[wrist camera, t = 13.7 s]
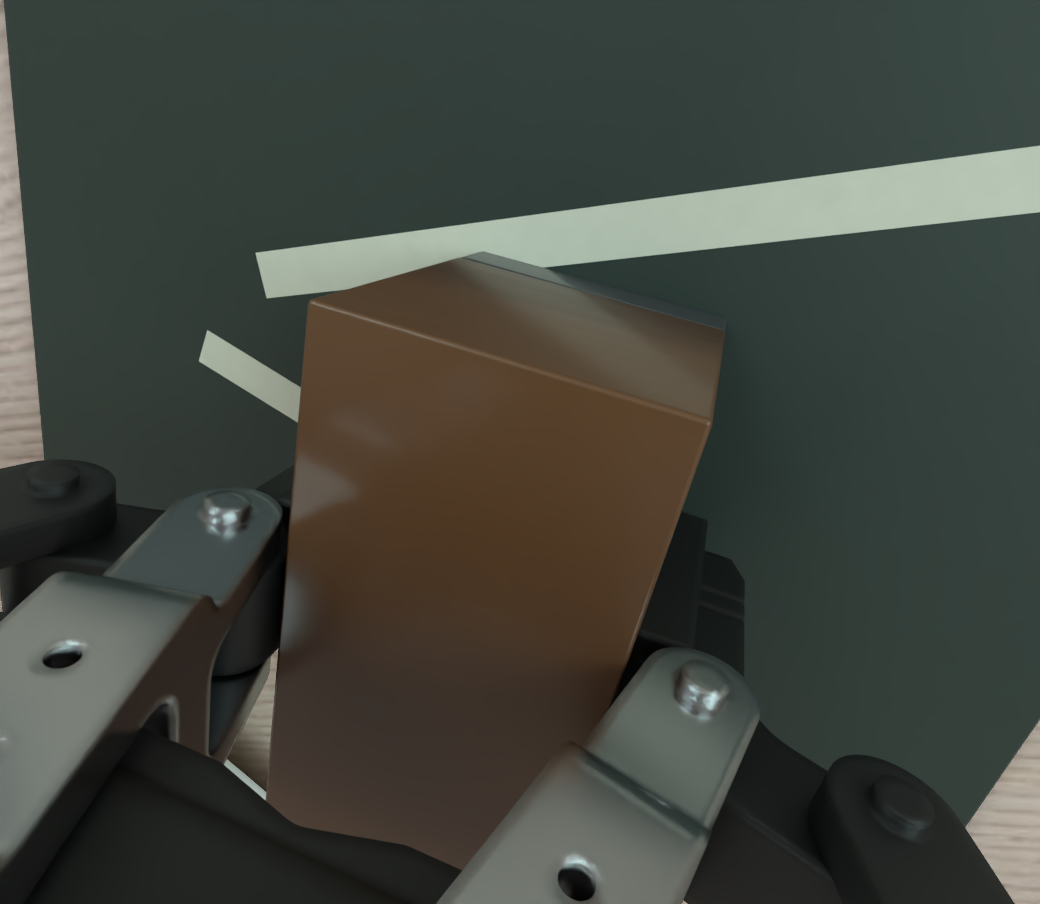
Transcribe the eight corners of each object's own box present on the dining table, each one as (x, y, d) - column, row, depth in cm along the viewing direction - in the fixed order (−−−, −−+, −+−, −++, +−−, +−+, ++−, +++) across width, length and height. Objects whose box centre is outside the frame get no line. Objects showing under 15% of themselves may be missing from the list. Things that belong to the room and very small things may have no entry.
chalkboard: (11, -216, 11) (-20, -232, 11) (1495, 8, 8) (1541, -2, 7) (67, 521, 17) (49, 531, 17) (927, 854, 13) (933, 877, 13)
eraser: (480, 249, 11) (305, 298, 7) (727, 317, 11) (713, 421, 6) (409, 638, 15) (260, 842, 10) (593, 709, 14) (520, 963, 9)
